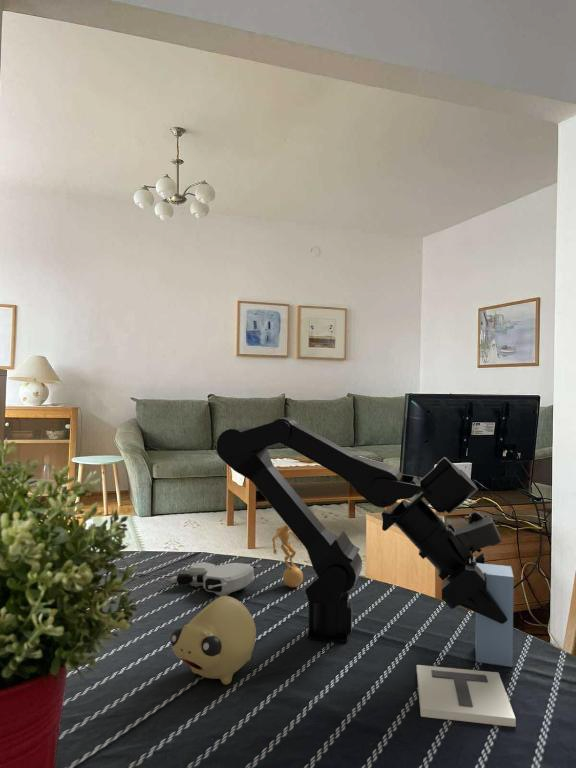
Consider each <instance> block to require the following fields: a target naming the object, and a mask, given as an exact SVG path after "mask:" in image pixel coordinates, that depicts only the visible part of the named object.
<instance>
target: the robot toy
mask: <svg viewBox="0 0 576 768" xmlns="http://www.w3.org/2000/svg"><path fill="white" fill-rule="evenodd" d="M261 567H262V565H261V564H258V565H255V566H252V565H251V564H249V563H240V562H231V563H225V564H222V565H218V566H217V565H215V564H214V563H212V562H209V561H208V562H207V561H206V562H204V561H203V562H197V563H194V564H192V565H190V566H188V567H185V568H184V573H179V574H177V576H175V575H174V576H171V577H170V578H169V582H170V583H177V585H179V586H180V585H191V586H192V587H193V586H195V588H199V587H203V589H204V590H205V591H206V592H209V593H214V594H215V595H217V596H218V597H220V596H229V595H230V594H231V593H233V592H236V591H237V592H238V591H239V590H242V589H244V588H246V587H248V586H249V585H250V584H251V583H252V582H253V581H254V580H255V572H254V571H255V570H254V569H255V568H261Z"/></svg>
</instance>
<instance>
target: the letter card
mask: <svg viewBox="0 0 576 768" xmlns="http://www.w3.org/2000/svg"><path fill="white" fill-rule="evenodd" d="M416 678H417V680H416V681H417V690H418V691H417V692H418V700H419V701H418V702H419V709H420V710H419V711H420V712H419V713H420V717H421V718H422V717H423V718H432V719H438V720H451V721H459V722H460V721H461V722H469V723H477V724H485V725H486V724H487V725H495V726H502V727H503V726H504V727H505V726H506V727H513V728H514V727H515V728H516V723H517V722H516V721H517V719H516V716H515V713H514V710H513V708H512V705H511V703H510V700H509V697H508V695H507V692H506V689H505V685H504V683H503V681H502V679H501V676H500V673H499V671H498V672H497V671H486V670H485V671H484V670H474V669H464V668H455V667H446V666H445V667H444V666H443V667H442V666H433V665H425V664H424V665H423V664H422V665H421V664H416Z"/></svg>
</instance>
